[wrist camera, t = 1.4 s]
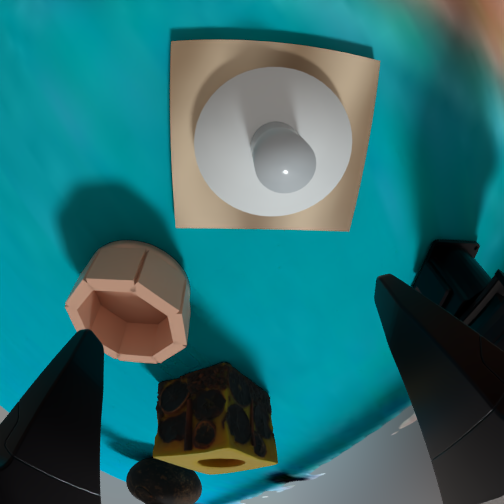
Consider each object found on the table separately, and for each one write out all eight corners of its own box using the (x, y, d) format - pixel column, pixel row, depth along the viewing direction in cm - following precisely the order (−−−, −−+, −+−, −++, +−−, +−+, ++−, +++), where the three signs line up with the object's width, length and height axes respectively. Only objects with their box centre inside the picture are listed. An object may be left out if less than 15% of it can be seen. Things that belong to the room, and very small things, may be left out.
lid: (354, 78, 14) (390, 84, 11) (334, 211, 20) (356, 249, 16) (196, 64, 14) (183, 63, 10) (197, 208, 19) (189, 247, 15)
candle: (157, 381, 32) (148, 456, 24) (226, 357, 30) (228, 447, 22) (207, 411, 38) (207, 476, 29) (271, 393, 35) (279, 465, 27)
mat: (374, 60, 14) (380, 61, 14) (345, 225, 21) (349, 231, 21) (173, 42, 13) (171, 41, 13) (177, 222, 20) (175, 228, 20)
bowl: (186, 240, 21) (177, 281, 17) (194, 324, 26) (190, 365, 23) (76, 240, 20) (52, 276, 17) (103, 319, 26) (90, 356, 22)
